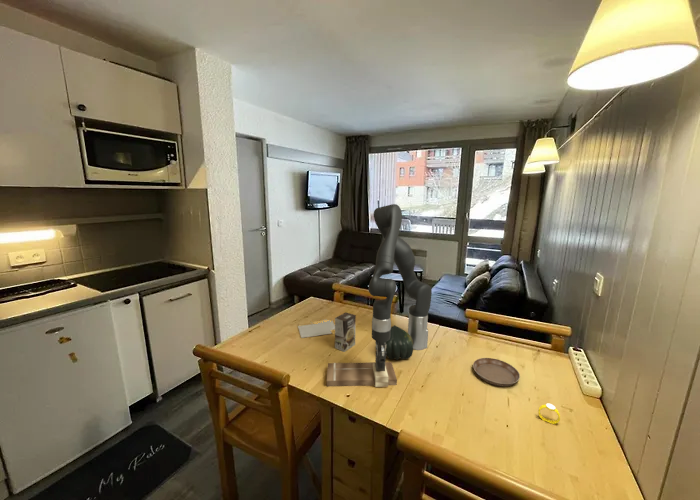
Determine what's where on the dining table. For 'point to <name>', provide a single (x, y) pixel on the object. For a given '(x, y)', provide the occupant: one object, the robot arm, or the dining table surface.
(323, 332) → the paper stack
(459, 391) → the dining table surface
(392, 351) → the squash
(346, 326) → the coffee box
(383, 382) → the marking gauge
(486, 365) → the plant saucer
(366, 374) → the walnut board
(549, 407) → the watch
